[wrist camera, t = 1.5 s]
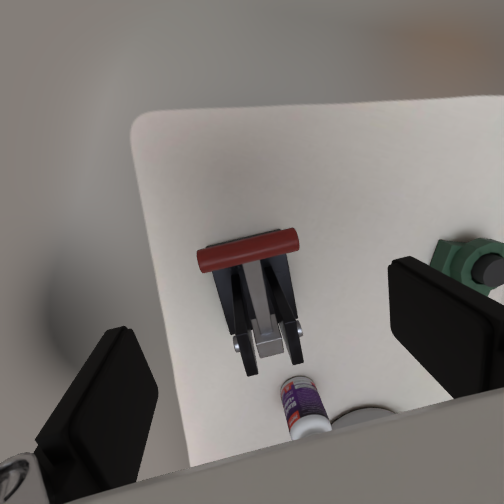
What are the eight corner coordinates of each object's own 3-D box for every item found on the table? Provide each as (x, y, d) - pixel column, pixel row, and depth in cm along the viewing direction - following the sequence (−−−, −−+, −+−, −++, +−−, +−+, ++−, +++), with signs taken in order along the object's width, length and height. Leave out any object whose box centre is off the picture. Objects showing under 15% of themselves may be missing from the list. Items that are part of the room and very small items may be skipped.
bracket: (206, 246, 33) (197, 300, 21) (280, 228, 33) (314, 272, 21) (230, 329, 37) (234, 414, 25) (295, 313, 37) (331, 390, 25)
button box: (442, 230, 35) (468, 239, 32) (496, 236, 36) (528, 246, 33) (413, 307, 39) (434, 324, 35) (463, 311, 40) (489, 327, 36)
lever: (195, 240, 17) (197, 269, 15) (290, 217, 17) (302, 243, 16) (235, 339, 26) (239, 363, 25) (296, 324, 27) (304, 347, 25)
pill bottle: (281, 375, 40) (299, 440, 31) (317, 374, 41) (344, 437, 32) (278, 404, 42) (293, 473, 33) (312, 402, 43) (337, 470, 34)
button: (477, 252, 33) (491, 257, 31) (503, 254, 33) (518, 260, 32) (465, 279, 34) (478, 286, 32) (491, 282, 34) (504, 288, 33)
